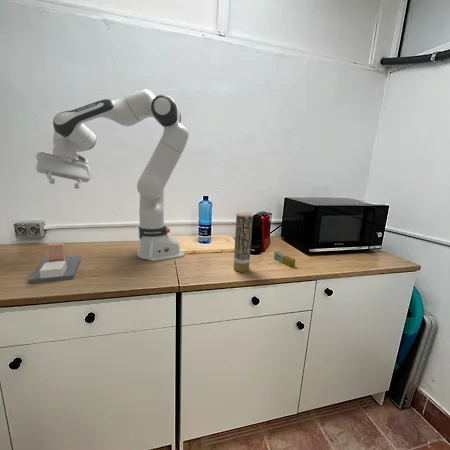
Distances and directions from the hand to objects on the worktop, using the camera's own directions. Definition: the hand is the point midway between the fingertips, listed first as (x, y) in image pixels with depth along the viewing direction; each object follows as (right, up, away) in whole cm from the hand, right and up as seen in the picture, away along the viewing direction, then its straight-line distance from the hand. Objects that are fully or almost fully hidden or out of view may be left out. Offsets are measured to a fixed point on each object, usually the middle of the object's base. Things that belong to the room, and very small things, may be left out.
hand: (64, 185), depth 112 cm
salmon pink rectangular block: (0, -33, -4) cm, 33 cm away
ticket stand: (0, -35, -4) cm, 35 cm away
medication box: (+96, -35, +15) cm, 103 cm away
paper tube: (+75, -36, +4) cm, 83 cm away
